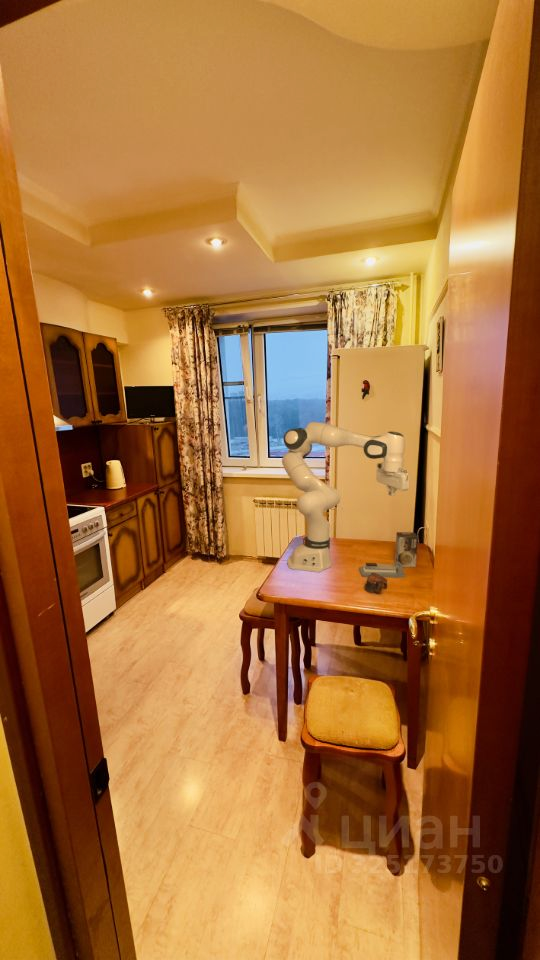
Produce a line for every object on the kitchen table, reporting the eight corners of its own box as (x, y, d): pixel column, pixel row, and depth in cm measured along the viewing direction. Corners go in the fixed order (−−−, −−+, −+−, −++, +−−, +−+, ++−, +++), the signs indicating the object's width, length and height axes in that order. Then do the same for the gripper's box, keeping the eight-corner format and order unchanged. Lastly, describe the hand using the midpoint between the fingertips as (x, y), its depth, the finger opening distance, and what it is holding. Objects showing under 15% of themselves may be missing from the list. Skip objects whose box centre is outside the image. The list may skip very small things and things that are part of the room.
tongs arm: (398, 566, 175) (399, 563, 174) (400, 570, 171) (401, 567, 171) (364, 565, 176) (364, 562, 175) (365, 568, 172) (365, 565, 172)
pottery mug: (359, 585, 164) (367, 569, 165) (378, 594, 165) (385, 577, 165) (368, 593, 152) (376, 575, 153) (388, 602, 153) (396, 584, 153)
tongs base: (361, 576, 171) (362, 568, 170) (358, 568, 179) (359, 560, 178) (405, 577, 170) (405, 569, 169) (400, 569, 177) (400, 561, 176)
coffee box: (412, 561, 186) (414, 532, 182) (416, 567, 179) (418, 537, 176) (394, 561, 186) (396, 531, 183) (397, 566, 180) (399, 536, 176)
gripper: (414, 470, 160) (411, 500, 163) (385, 462, 179) (383, 489, 182) (402, 471, 158) (400, 501, 161) (374, 463, 177) (373, 490, 180)
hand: (391, 495), depth 172 cm, fingers closed
